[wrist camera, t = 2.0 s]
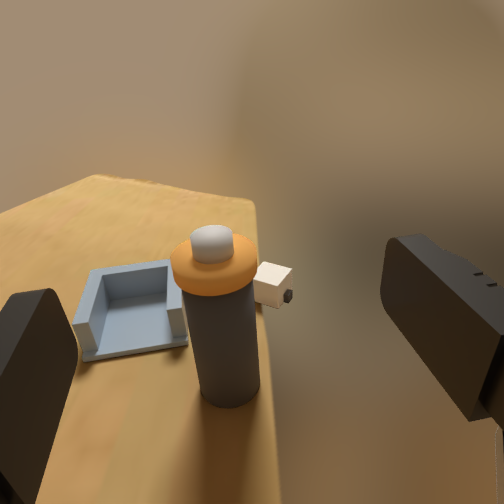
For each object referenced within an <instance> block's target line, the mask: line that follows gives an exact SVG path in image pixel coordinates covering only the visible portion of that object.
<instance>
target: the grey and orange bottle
mask: <svg viewBox="0 0 504 504" xmlns="http://www.w3.org/2000/svg"><path fill="white" fill-rule="evenodd" d="M170 262H171V267H172V272H173V277H174V281H175V283H176V284H177V286H178V287H179V288H181V291H182V296H183V301H184V306H185V311H186V317H187V322H188V327H189V332H190V337H191V342H192V347H193V353H194V358H195V363H196V368H197V373H198V378H199V384H200V389H201V393H202V395H203V397H204V398H205V399H206V400H207V401H208V402H209V403H211V404H212V405H214V406H217V407H221V408H234V407H238V406H241V405H243V404H245V403H247V402H248V401H250V400H251V399H252V398H253V397H254V396H255V394H256V393H257V391H258V389H259V385H260V374H259V359H258V344H257V329H256V314H255V300H254V285H253V279H254V277H255V275H256V273H257V252H256V247H255V245H254V243H253V242H252V241H251V240H249V239H248V238H246V237H244V236H241V235H238V234H234V233H232V231H231V229H229V228H228V227H225V226H221V225H209V226H204V227H201V228H198V229H196V230H195V231H193V232H192V233H191V235H190V239H188V240H186V241H184V242H182V243H181V244H179V245H178V246H177V247H176V248H175V249H174V250H173V252H172V254H171V257H170Z"/></svg>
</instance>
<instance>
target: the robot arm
mask: <svg viewBox="0 0 504 504" xmlns="http://www.w3.org/2000/svg"><path fill="white" fill-rule="evenodd" d="M380 294H381V300H382V304H383V307H384V309H385V311H386V312H387V314H388V315H389V316H390V318H391V319H392V320H393V322H394V323H395V324H396V326H397V327H398V328H399V330H400V331H401V332H402V334H403V335H404V336H405V338H406V339H407V340H408V342H409V343H410V344H411V346H412V347H413V348H414V350H415V351H416V352H417V354H418V355H419V356H420V358H421V359H422V360H423V362H424V363H425V364H426V365H427V367H428V368H429V370H430V371H431V372H432V374H433V375H434V376H435V377H436V379H437V380H438V381H439V383H440V384H441V385H442V387H443V388H444V389H445V391H446V392H447V393H448V395H449V396H450V397H451V399H452V400H453V401H454V403H455V404H456V405H457V406H458V408H459V409H460V411H461V412H462V413H463V415H464V416H465V417H466V418H467V420H468V421H469V422H471V421H475V420H480V419H485V418H489V417H492V418H493V419H494V420H495V422H496V423H497V424H498V425H499V426H498V429H497V431H496V434H495V449H496V479H497V504H504V288H503V287H501V286H497V283H496V282H495V281H494V280H492V279H491V278H490V277H489V276H487V275H483V272H482V271H481V270H480V269H478V268H477V267H476V266H475V265H473V264H472V263H471V262H469V261H468V260H467V259H464V258H462V257H460V256H458V255H456V254H453V253H451V252H449V251H446V250H443V249H441V248H440V247H439V246H438V245H436V244H435V243H434V242H433V241H431V240H430V239H429V238H428V237H427V236H425V235H423V234H415V235H408V236H401V237H394V238H391V239H389V241H388V242H387V245H386V250H385V258H384V265H383V272H382V280H381V287H380ZM77 361H78V348H77V342H76V339H75V336H74V334H73V331H72V329H71V327H70V324H69V322H68V319H67V317H66V315H65V312H64V310H63V307H62V305H61V303H60V300H59V298H58V296H57V294H56V292H55V291H54V290H53V289H51V288H47V289H41V290H34V291H27V292H21V293H15V294H12V295H11V296H10V297H9V299H8V301H7V302H6V304H5V305H4V307H3V308H2V310H1V311H0V504H35V502H36V498H37V495H38V492H39V488H40V485H41V482H42V478H43V475H44V472H45V468H46V465H47V462H48V459H49V455H50V452H51V449H52V445H53V442H54V439H55V435H56V432H57V429H58V426H59V422H60V419H61V416H62V412H63V409H64V406H65V402H66V399H67V396H68V393H69V389H70V386H71V383H72V379H73V376H74V373H75V369H76V366H77Z"/></svg>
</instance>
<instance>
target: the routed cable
mask: <svg viewBox="0 0 504 504" xmlns="http://www.w3.org/2000/svg"><path fill="white" fill-rule="evenodd" d="M253 285H254V300H255V302H258V303H261V304H264V305H267V306H270V307H274V308H277V309H278V308H279V307H280V306H281V305H282V303H283V302H286V303H289V302H290V300H291V299H292V269H290V268H287V267H283V266H279V265H275V264H272V263H267V262H263V263H262V264H261V265H260V266H259V267H258V268H257V273H256V275H255V277H254V279H253Z"/></svg>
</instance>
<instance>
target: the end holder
mask: <svg viewBox="0 0 504 504" xmlns="http://www.w3.org/2000/svg"><path fill="white" fill-rule="evenodd" d="M72 326H73V329H74V331H75V333H76V336H77V338H78V341H79V343H80V346H81V348H82V350H83V355H82V360H83V362H88V361H94V360H100V359H106V358H112V357H118V356H124V355H130V354H136V353H142V352H148V351H154V350H160V349H166V348H172V347H178V346H184V345H188V322H187V317H186V311H185V306H184V301H183V296H182V291H181V288H179V287H178V286H177V284H176V283H175V281H174V277H173V272H172V267H171V262H170V259H166V260H158V261H151V262H144V263H137V264H130V265H123V266H115V267H108V268H101V269H94V270H91V272H90V274H89V277H88V280H87V283H86V286H85V289H84V291H83V294H82V297H81V300H80V303H79V306H78V309H77V311H76V314H75V317H74V320H73V323H72Z"/></svg>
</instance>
